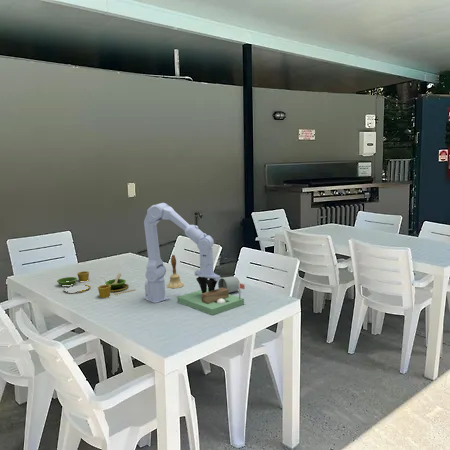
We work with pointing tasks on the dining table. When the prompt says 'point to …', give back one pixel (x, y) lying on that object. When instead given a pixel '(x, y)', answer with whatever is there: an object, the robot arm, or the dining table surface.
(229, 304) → the putting deck
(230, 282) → the ceramic mug
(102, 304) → the dining table surface
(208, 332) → the dining table surface
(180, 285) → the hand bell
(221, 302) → the golf ball
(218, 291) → the block
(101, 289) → the tableware set
